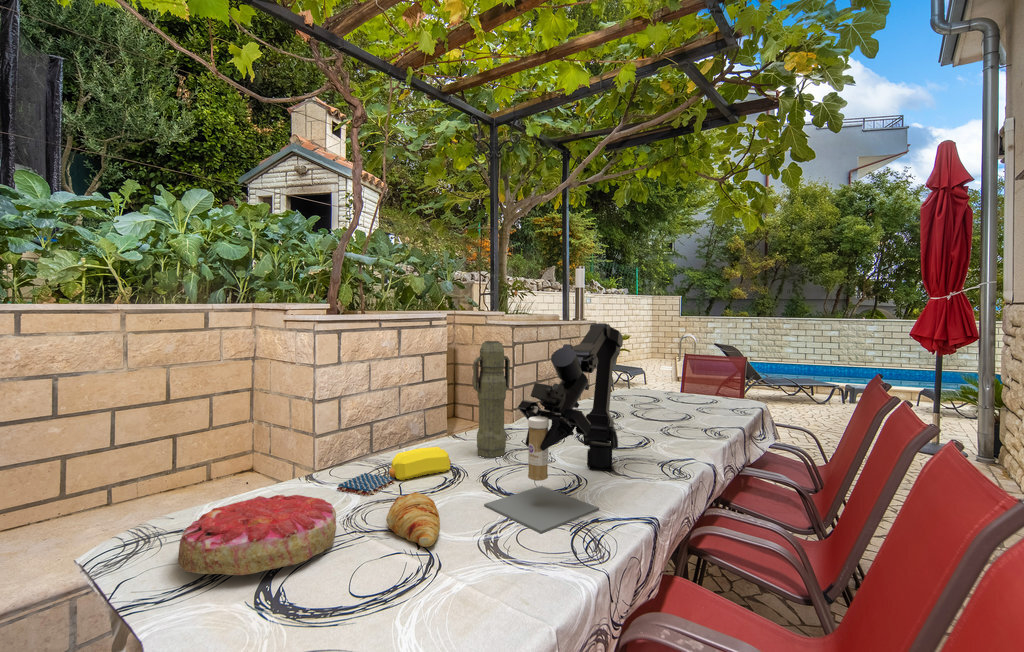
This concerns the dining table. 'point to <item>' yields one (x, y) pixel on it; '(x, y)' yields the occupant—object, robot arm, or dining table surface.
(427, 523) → the croissant
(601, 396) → the robot arm
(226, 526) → the cake
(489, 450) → the thermos
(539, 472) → the sprinkles bottle
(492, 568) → the dining table surface
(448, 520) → the dining table surface
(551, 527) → the mat
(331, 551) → the dining table surface
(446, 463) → the yellow elongated block
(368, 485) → the woven mat
